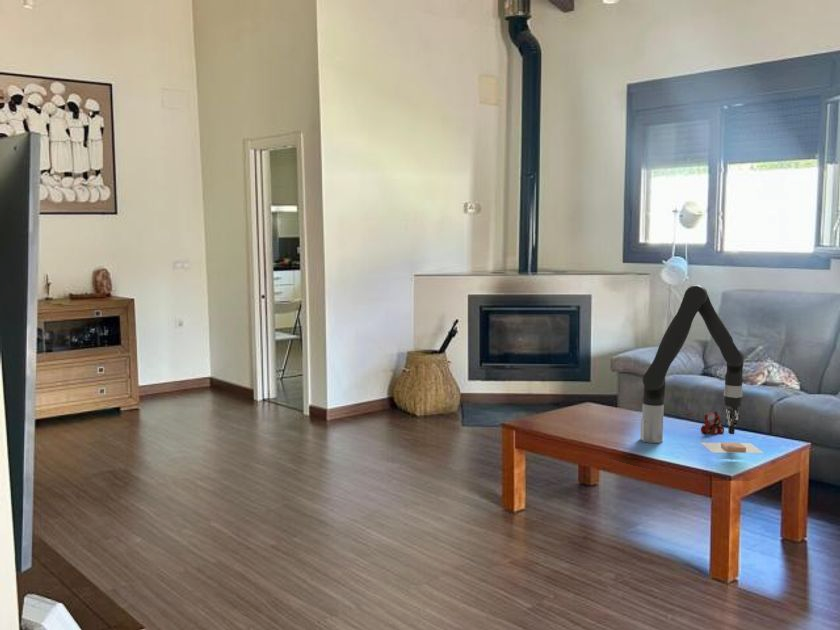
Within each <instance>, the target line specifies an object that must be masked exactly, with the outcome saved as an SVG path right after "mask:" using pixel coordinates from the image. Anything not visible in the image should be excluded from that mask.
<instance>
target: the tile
mask: <svg viewBox="0 0 840 630" xmlns="http://www.w3.org/2000/svg"><path fill="white" fill-rule="evenodd" d="M720 443H721V447H723V448H724V449H725V450H726V451H746V447H745V446H743V445H742V444H740V443H741V442H720Z"/></svg>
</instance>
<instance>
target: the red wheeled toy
mask: <svg viewBox="0 0 840 630" xmlns="http://www.w3.org/2000/svg"><path fill="white" fill-rule="evenodd" d="M703 419H704V424H702V426H701V427H700V433H702V435H706V434H707V433H708V434H711V435H723V434H724V433H725V427H724V426H723V425H722V424H721V422H722V421H721V418H720V415H719V414H718V412H717V411H713V412H709V413H706V414H704V418H703Z"/></svg>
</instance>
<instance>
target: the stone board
mask: <svg viewBox="0 0 840 630" xmlns="http://www.w3.org/2000/svg"><path fill="white" fill-rule="evenodd" d="M739 443H740V444H742V445H743V446H745V447H746V451H726V450H725V449H724V448H723V447H721V442H700V444H701V445H702V446H704V447H705V448H706V449H707V450H709V451H710V452H711V453H714V454H716V453H719V454H720V453H721V454H724V453H726V454H730V453H731V454H764V452H763V451H762V450H761V449H759V448H758V447H756V446H755V445H753V443H751V442H739Z"/></svg>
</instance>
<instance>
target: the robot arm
mask: <svg viewBox="0 0 840 630" xmlns="http://www.w3.org/2000/svg"><path fill="white" fill-rule="evenodd" d="M697 313H699V315H700V316H701V318H702V320H703V322H704V324H705V326H706V328H707V330H708V333H709V335H710V336H711V338H712V339H713V341H714V343H715V344H716V345H717V347H718V348H719V351H720V353H721V356H722V358H723V359H724V361H725V362H726V370H725V371H726V372H725V377H724V387H723V406H725V407H726V409H724V410H723V411H724V412H723V413H724V416H725V420H726V423H727V426H728V429H727V431H728V432H727V433H728V434H729V435H734V434H735V433H736V432H735V431H736V430H735V429H736V428H735V427H736V426H738V424H739V421H740V419H741V416H740V415H739V407H742V405H743V369H744V361H745V356H744V353H743V352H742V351H741V350H740V349H738V347H737V346H736V344H735V342H734V340H733V336H732V335H731V334H730V332H729V330H728V328H727V327H726V325H725V324H724V323H723V321H722V319H721V318H720V315H718V313H717V311H716V310H715V307H714V306H713V304H712V302H711V299H710V296H709V294H708V290H707V289H706V288H705V287H704V286H703V285H699V284H693V285H690V286H689V287H687V289H685V292H684V295H683V298H682V301H681V303H680V305H679V308H678V310H677V312H676V314H675V316H674V317H673V318H672V320H671V322H670V323H669V325H668V327H666V328H667V329H666V330H665V332H664V334H663V337H661V341H660V343H659V346H658V349H657V351H656V352H655V353H656V354H655V355H654V356H655V357H654V358H653V360H652V363H651V364H650V365H649V367H648V369H647V370H646V372H645V373H644V374H643V375H642V383H643V395H642V411H641V412H642V413H641V415H642V416H641V419H640V435H639V436H640V437H639V439H640V440H641V441H642V443H649V444H659V443H662V442H663V441H664V440H663V437H664V436H663V435H664V406H665V405H664V404H665V403H664V402H665V394H666V376H667V373H668V371H669V368H670V366H671V364H672V363H673V361H674V360H675V359H676V357H677V356H678V354H679V353H680V352H681V349H682V348H683V346H684V345H685V342H686V340H687V338H688V336H689V334H690V330H691V327H692V323H693V321H694V319H695V316H696V315H697Z"/></svg>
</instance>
